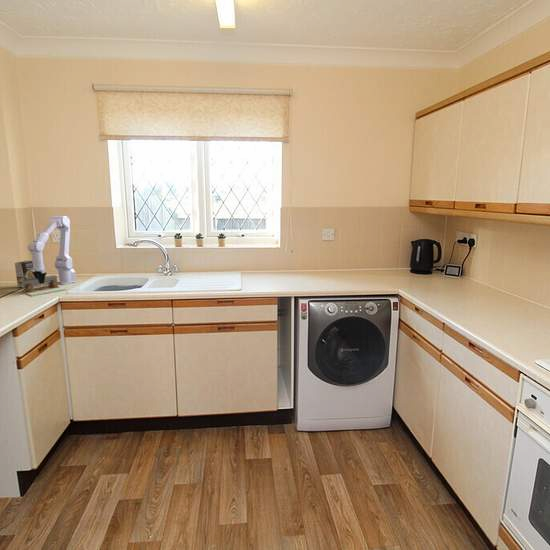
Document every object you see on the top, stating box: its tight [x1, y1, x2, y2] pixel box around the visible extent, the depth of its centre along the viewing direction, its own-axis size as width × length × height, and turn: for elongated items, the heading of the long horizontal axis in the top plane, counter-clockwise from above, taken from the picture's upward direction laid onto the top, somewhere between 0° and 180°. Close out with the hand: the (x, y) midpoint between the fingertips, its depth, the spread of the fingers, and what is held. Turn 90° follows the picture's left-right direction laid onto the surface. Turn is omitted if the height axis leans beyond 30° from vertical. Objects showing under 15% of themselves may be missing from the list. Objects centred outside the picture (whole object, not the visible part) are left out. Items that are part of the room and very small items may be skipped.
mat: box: [26, 286, 67, 297], centre depth 241 cm, size 20×8×1 cm, turn 140°
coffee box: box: [14, 260, 35, 289], centre depth 255 cm, size 9×6×16 cm
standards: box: [22, 279, 60, 294], centre depth 247 cm, size 18×8×5 cm, turn 140°
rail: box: [23, 275, 58, 287], centre depth 246 cm, size 18×4×4 cm, turn 140°
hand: (40, 283), depth 246 cm, fingers closed on rail, 3 cm apart
